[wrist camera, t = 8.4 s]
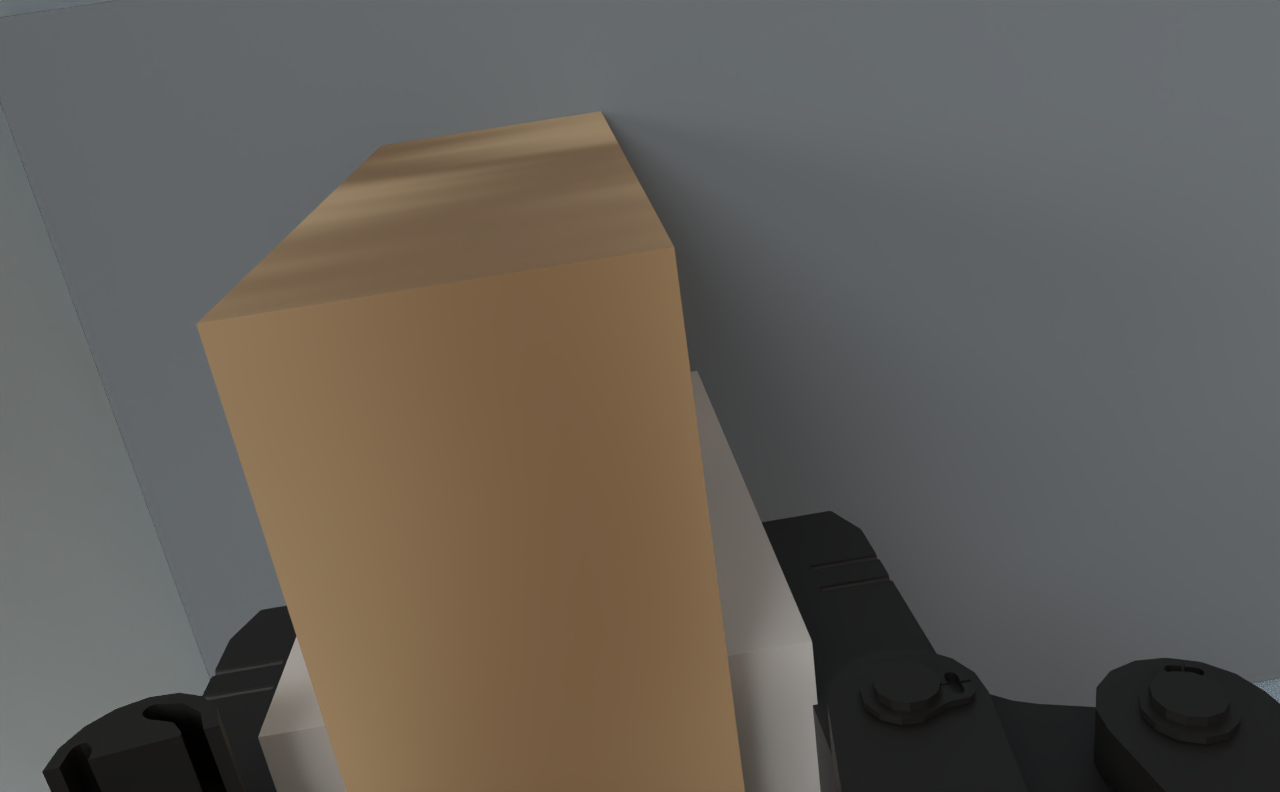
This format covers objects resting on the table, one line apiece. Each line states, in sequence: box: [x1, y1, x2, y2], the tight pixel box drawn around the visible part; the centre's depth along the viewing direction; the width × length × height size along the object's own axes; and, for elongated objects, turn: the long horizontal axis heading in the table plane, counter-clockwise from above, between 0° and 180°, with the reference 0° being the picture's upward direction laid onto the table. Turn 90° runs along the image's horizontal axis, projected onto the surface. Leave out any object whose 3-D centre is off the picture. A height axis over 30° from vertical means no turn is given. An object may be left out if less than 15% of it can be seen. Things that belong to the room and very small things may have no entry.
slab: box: [196, 111, 745, 792], centre depth 12 cm, size 3×10×8 cm, turn 8°
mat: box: [0, 0, 1280, 707], centre depth 16 cm, size 20×14×1 cm
